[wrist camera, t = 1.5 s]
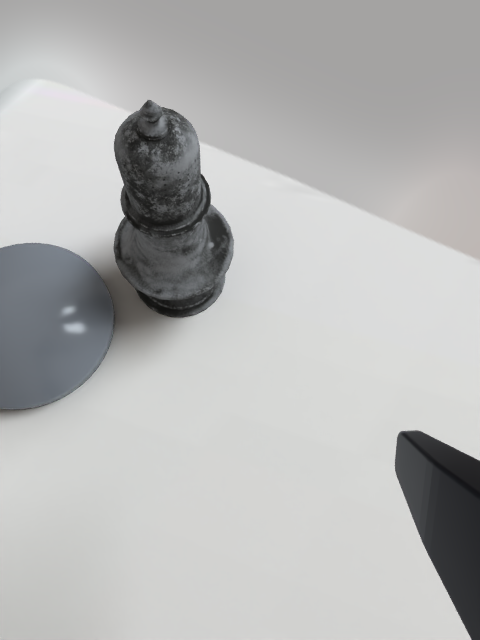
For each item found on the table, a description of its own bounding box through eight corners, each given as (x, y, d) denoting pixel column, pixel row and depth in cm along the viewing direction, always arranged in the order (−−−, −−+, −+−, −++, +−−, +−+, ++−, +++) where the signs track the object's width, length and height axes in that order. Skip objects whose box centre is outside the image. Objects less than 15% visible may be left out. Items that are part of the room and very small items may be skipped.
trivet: (-29, 443, 19) (-39, 443, 18) (-83, 291, 21) (-93, 285, 21) (141, 358, 21) (139, 354, 20) (76, 226, 23) (72, 218, 22)
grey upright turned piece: (106, 279, 22) (-2, 104, 11) (175, 211, 24) (144, 0, 13) (184, 343, 22) (155, 226, 10) (250, 269, 23) (289, 97, 12)
